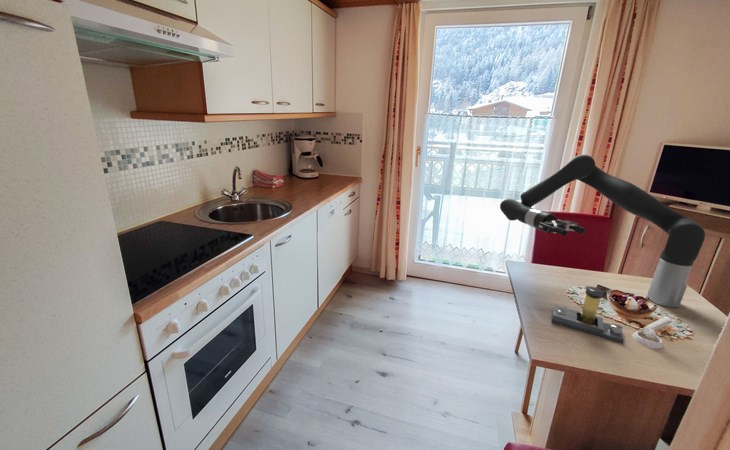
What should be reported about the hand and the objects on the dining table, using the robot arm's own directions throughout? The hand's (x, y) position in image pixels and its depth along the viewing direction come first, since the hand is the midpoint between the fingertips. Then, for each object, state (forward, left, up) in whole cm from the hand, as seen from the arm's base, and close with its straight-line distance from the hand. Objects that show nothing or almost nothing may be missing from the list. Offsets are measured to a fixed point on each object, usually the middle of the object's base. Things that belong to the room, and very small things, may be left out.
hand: (575, 232), depth 118 cm
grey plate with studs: (-8, +14, -28) cm, 33 cm away
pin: (-8, +14, -28) cm, 33 cm away
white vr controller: (-25, +11, -29) cm, 40 cm away
